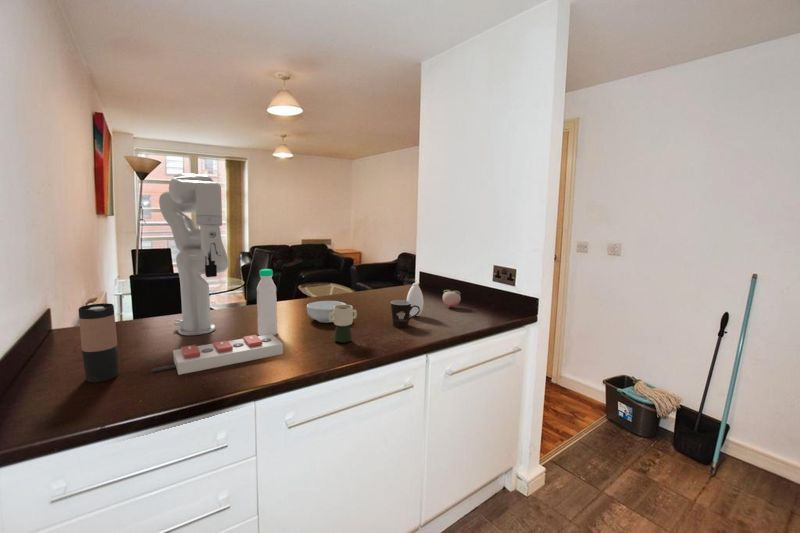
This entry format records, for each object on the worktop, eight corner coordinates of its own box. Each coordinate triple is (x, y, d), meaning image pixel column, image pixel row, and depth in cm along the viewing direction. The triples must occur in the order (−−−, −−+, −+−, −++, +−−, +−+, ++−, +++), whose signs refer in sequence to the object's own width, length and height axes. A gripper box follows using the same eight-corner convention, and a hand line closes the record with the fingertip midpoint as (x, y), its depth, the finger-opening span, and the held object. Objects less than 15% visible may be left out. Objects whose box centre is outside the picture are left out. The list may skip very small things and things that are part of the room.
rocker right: (249, 346, 120) (249, 343, 120) (243, 339, 126) (243, 336, 126) (262, 344, 122) (262, 341, 122) (255, 337, 128) (255, 334, 128)
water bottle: (271, 337, 140) (269, 271, 137) (254, 336, 141) (252, 270, 138) (280, 332, 147) (279, 268, 143) (264, 330, 148) (262, 267, 145)
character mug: (352, 336, 144) (352, 303, 142) (360, 341, 138) (360, 307, 136) (325, 340, 138) (325, 306, 136) (332, 346, 132) (332, 310, 131)
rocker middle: (218, 352, 114) (218, 348, 114) (213, 345, 121) (213, 342, 121) (232, 349, 117) (232, 346, 117) (227, 343, 123) (226, 340, 123)
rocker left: (184, 358, 109) (184, 354, 109) (181, 349, 116) (181, 346, 115) (200, 355, 112) (200, 351, 111) (196, 347, 118) (195, 344, 118)
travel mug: (97, 371, 108) (91, 303, 105) (126, 371, 109) (120, 303, 106) (77, 383, 100) (70, 310, 98) (107, 382, 101) (101, 310, 98)
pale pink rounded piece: (441, 309, 188) (442, 289, 187) (442, 305, 196) (443, 286, 195) (460, 310, 187) (461, 290, 185) (460, 306, 195) (461, 287, 193)
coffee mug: (386, 327, 157) (387, 303, 155) (395, 321, 165) (395, 299, 163) (413, 330, 152) (413, 306, 151) (420, 325, 160) (420, 302, 159)
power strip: (153, 379, 103) (152, 367, 103) (150, 365, 113) (149, 353, 113) (283, 353, 125) (282, 343, 124) (271, 343, 134) (271, 333, 134)
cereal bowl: (353, 319, 167) (354, 303, 166) (327, 328, 153) (327, 311, 152) (325, 313, 176) (325, 298, 175) (298, 321, 162) (298, 305, 161)
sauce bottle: (423, 319, 170) (424, 279, 168) (406, 318, 170) (407, 279, 168) (422, 314, 178) (423, 276, 175) (406, 314, 178) (407, 276, 175)
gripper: (226, 222, 118) (228, 280, 121) (217, 219, 130) (218, 271, 133) (200, 222, 114) (202, 281, 117) (192, 219, 126) (195, 273, 129)
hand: (211, 276), depth 125 cm, fingers closed
